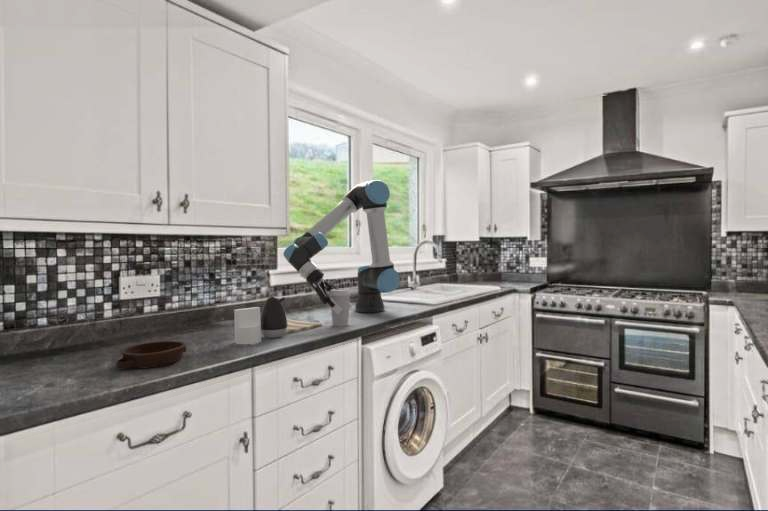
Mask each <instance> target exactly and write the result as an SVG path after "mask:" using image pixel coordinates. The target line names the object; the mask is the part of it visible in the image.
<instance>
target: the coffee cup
mask: <svg viewBox="0 0 768 511" xmlns="http://www.w3.org/2000/svg"><path fill="white" fill-rule="evenodd" d="M328 294H329V296H330V299H331V298H332V299H333V300H334V301H335V302H336V303H337V304H338V305H339V306H340V307H341V309H342V311H341V312H340V313H339V314H337V313H336V312H335V311H334V310H333V309H332V308H331V307H330V310H331V321H332V326H334V327H345V326H348V325H349V313H350V309H349V302H350V298H351V295H352V293H351V290H350V289H349V288H339V289H332V290H330V292H328ZM350 303H351V302H350Z"/></svg>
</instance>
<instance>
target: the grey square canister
mask: <svg viewBox="0 0 768 511" xmlns="http://www.w3.org/2000/svg"><path fill="white" fill-rule="evenodd" d="M233 313H234V314H233V315H234V317H233V319H234V344H235V343H236V344H235V345H237V344H251V345H256V344H255V343H257V344H260V343H262V333H261V321H260V317H261V307H259V306H254V307H253V306H252V307H245V308H237V309H233ZM259 342H260V343H259Z"/></svg>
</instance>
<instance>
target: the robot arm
mask: <svg viewBox="0 0 768 511" xmlns="http://www.w3.org/2000/svg"><path fill="white" fill-rule="evenodd" d="M390 195H391V193H390V188H389V187H388V185H387V184H386V183H385V182H384V181H382V180H381V179H372V180H369V181H365V182H360V183H358V184H357V185H355V186H354V187H353V188H352V189H350V191H348V192H347V193H346V194H345V195H344V196H343V197H342V198H341V201H339V203H338V204H336V206H334V207H333V208H332V209H331V210H330V211H329V212H327V213H326V214H325V215H323V217H322V218H320V220H318V221H317V222H316V223H315V224H314V225H313V226H311V227H310V229H308V230H307V231H306V232H305V233H304V234H302V235H301V236H299V237H296V238H295V239H294V240H293V242H292V244H290V245H288V246H287V247H286V248H285V249H284V251H283V257H284V258H285V260H286V261H287V262H288V263H289V264H290V265H291V266H292V267H293V268H294V269H295V270H296V272H297V273H298V274H300V277H302V278H303V279H305V281H306V283H308V285H309V286H311V287H312V288H313V290H314V291H315V292H316V294H317V296H318V297H319V299H320V300H321V301H322V303H323V304H325V305H326V304H327V305H328V306H329V307H330V309H331V308H332V309H333V310H334V311H335V312H336V313H337V314H339V313H340V312H341V311H342V309H341V307H340V306H339V305H338V304H337V303H336V302H335V301H334V300H333V299H332V298H331V299H330V295H329V292H330V290H332V289H340V288H339V287H338V286H336V285H335V283H332V282H331V281H330V280H329V279H328V278H326V279H324V275H325V274H324V273H323V271H322V270H321V269H320V268H318V267H319V266H317V265H316V264H315V263H314V261H312V260H311V259H312V258H313V257H315V256H316V255H317V254H319V253H320V252H321V251H323V250H324V249H325V248H326V247H328V246H329V241H328V239H327V235H329V234H330V233H331V232H332V231H333V230H334V229H335V228H336V227H337V226H339V225H340V224H341V223H342V222H343V221H345V220H346V219H347V218H348V217H349V216H350V215H351V214H354V213H356V212H358V211H359V210H360V209H362V211H363V212H365V214H366V219H367V228H368V236H369V246H370V254H371V264H369V265H368V264H367V265H361V266H359V267H358V268H357V274H356V275H357V291H358V292H357V294H358V295H357V298H356V302H355V306H354V305H353V303H352V302H349V310H350V309H351V308H352V307H353V306H354V311H355V312H356V313H357V312H358V313H379V312H384V311H385V304H384V301H383V298H382V293H383V294H386V293H392V292H394V291H395V290H396V289H397V288H398V286H399V283H400V278H401V277H400V275H399V272H398V271H397V270H396V269H395V264H394V262H393V261H392V260H391V259H390V258H391V257H390V251H389V249H390V248H389V242H388V233H387V224H386V217H385V216H386V215H385V214H386V213H385V211H386V210H387V207H388V206H387V204H388V203H387V202H388V201H389V199H390Z"/></svg>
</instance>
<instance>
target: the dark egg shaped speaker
mask: <svg viewBox="0 0 768 511" xmlns="http://www.w3.org/2000/svg"><path fill="white" fill-rule="evenodd" d="M284 301H286V297H282V298H278V297H276V296H270V297H268V298H267V299H266V300H265V302H264V304H263V305H262V306H263V307H262V309H261V311H260V321H261V335H262V336H264V338H267V339H279V338H282V337H283V336H284V335H286V334H285V332H286V328H287V320H288V318H287V314H286V310H285V308H284V305H283V302H284Z"/></svg>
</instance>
